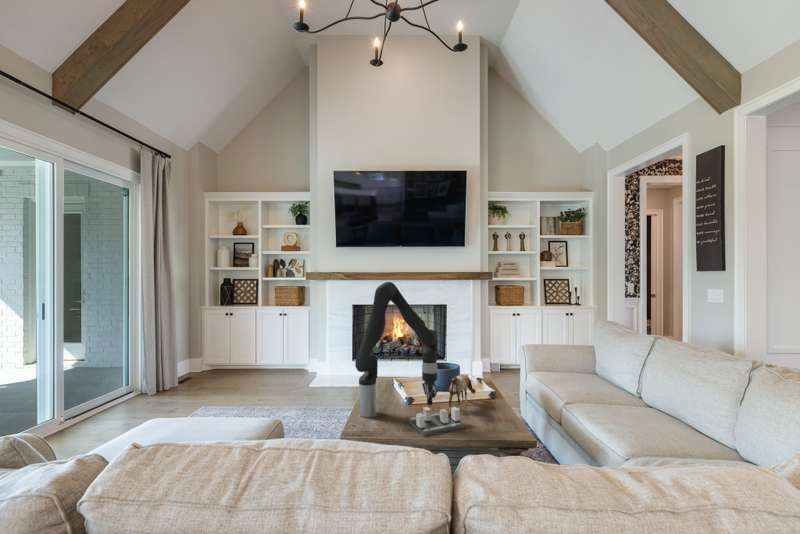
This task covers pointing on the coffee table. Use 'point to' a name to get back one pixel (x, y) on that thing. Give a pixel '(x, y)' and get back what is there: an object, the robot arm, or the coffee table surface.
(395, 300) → the robot arm
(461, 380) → the horse figurine
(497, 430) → the coffee table surface
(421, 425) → the breaker
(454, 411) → the breaker
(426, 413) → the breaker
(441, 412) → the breaker
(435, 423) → the panel
